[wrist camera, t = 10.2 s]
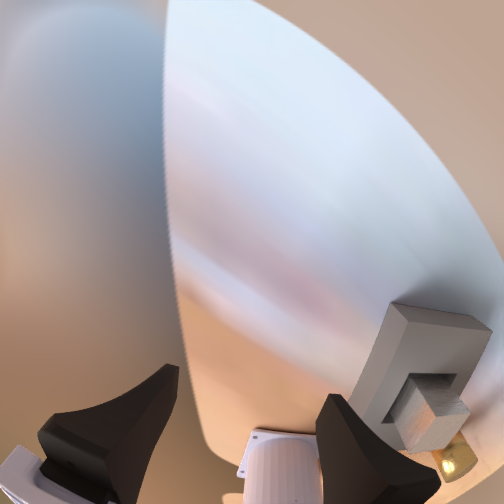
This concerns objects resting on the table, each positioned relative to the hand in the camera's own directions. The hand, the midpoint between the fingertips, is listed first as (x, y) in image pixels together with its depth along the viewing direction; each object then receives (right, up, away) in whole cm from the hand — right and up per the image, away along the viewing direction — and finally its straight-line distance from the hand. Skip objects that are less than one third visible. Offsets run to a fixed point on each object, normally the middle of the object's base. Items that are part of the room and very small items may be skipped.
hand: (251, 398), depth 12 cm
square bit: (+14, -5, +9) cm, 18 cm away
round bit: (+23, -16, +12) cm, 31 cm away
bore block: (+14, -5, +10) cm, 18 cm away
